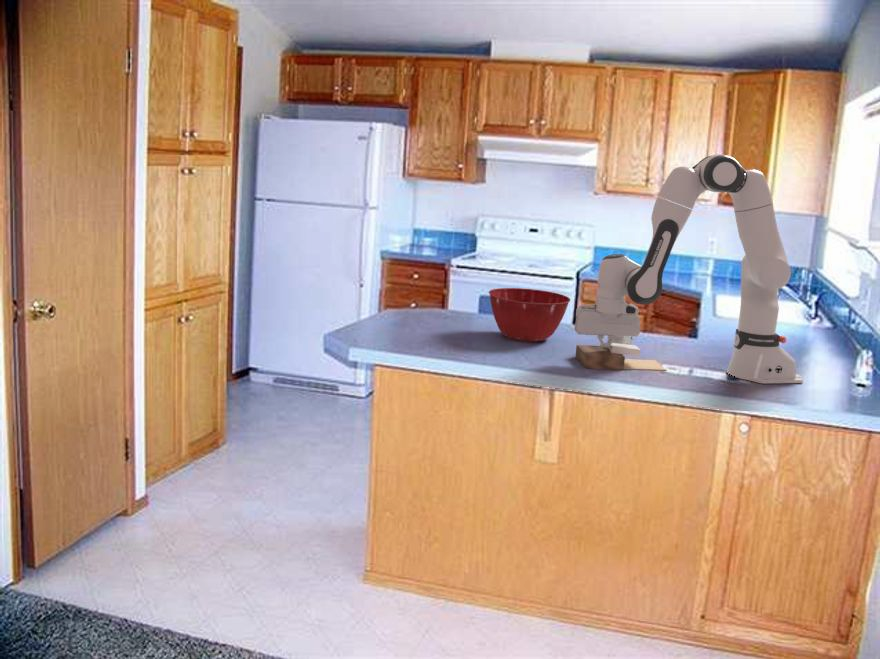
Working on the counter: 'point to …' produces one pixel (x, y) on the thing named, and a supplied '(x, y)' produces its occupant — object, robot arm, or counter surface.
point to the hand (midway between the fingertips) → (605, 349)
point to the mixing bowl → (527, 312)
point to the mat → (642, 364)
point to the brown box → (599, 358)
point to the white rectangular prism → (625, 349)
